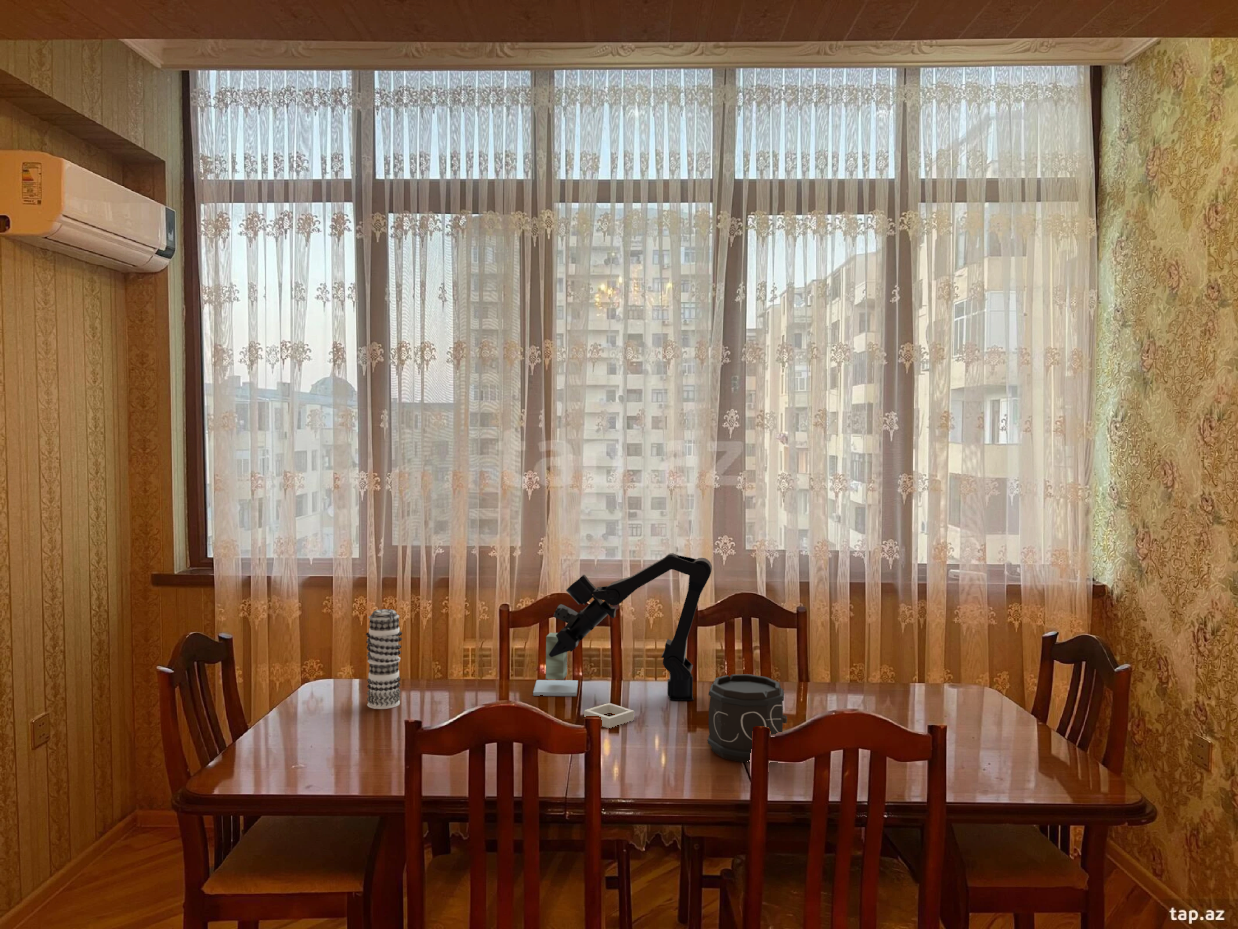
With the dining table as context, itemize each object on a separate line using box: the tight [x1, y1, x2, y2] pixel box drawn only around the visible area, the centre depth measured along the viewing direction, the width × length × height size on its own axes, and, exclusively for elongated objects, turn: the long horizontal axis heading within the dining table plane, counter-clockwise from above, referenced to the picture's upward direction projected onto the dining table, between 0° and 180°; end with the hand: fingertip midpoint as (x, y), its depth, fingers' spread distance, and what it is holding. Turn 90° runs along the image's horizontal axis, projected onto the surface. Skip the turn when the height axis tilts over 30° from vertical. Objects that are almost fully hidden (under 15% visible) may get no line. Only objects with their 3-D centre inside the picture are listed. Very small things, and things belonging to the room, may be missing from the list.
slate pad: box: [532, 679, 579, 697], centre depth 247 cm, size 12×12×1 cm
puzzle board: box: [583, 702, 635, 729], centre depth 221 cm, size 9×9×2 cm
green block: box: [545, 632, 568, 680], centre depth 246 cm, size 5×5×12 cm
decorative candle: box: [365, 608, 403, 710], centre depth 231 cm, size 9×9×25 cm
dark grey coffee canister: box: [707, 673, 788, 763], centre depth 201 cm, size 18×18×16 cm
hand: (552, 653), depth 247 cm, fingers closed on green block, 5 cm apart
